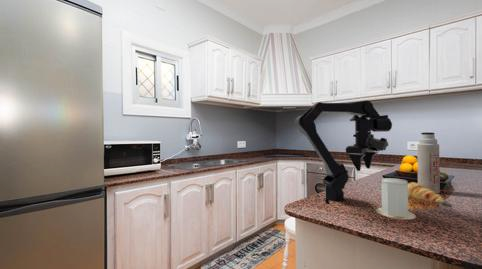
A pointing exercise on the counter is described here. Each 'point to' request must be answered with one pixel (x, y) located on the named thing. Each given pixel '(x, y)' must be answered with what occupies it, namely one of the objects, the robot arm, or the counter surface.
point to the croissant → (423, 193)
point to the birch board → (410, 216)
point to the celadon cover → (394, 197)
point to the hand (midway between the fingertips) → (363, 169)
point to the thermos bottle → (428, 162)
